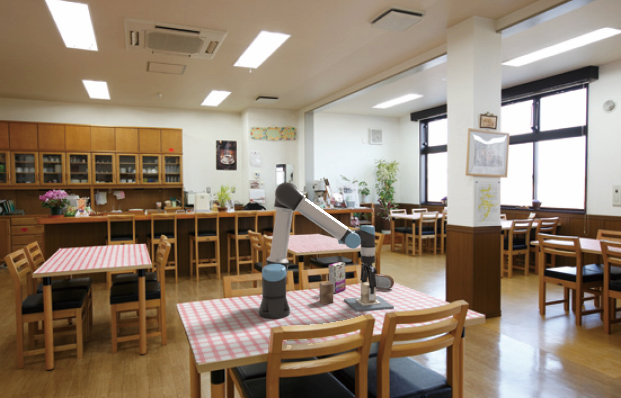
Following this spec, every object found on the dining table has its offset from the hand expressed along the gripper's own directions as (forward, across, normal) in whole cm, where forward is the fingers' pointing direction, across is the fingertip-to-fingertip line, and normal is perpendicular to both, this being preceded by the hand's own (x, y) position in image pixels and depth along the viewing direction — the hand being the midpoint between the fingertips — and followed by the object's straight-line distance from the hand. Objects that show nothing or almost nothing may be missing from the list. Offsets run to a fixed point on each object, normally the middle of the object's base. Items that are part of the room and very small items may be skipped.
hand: (368, 297), depth 213 cm
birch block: (+3, 0, 0) cm, 3 cm away
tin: (+4, +30, -20) cm, 36 cm away
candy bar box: (+4, +30, +8) cm, 31 cm away
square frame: (+4, 0, 0) cm, 4 cm away
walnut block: (+4, +10, +20) cm, 23 cm away
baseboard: (+4, 0, 0) cm, 4 cm away
